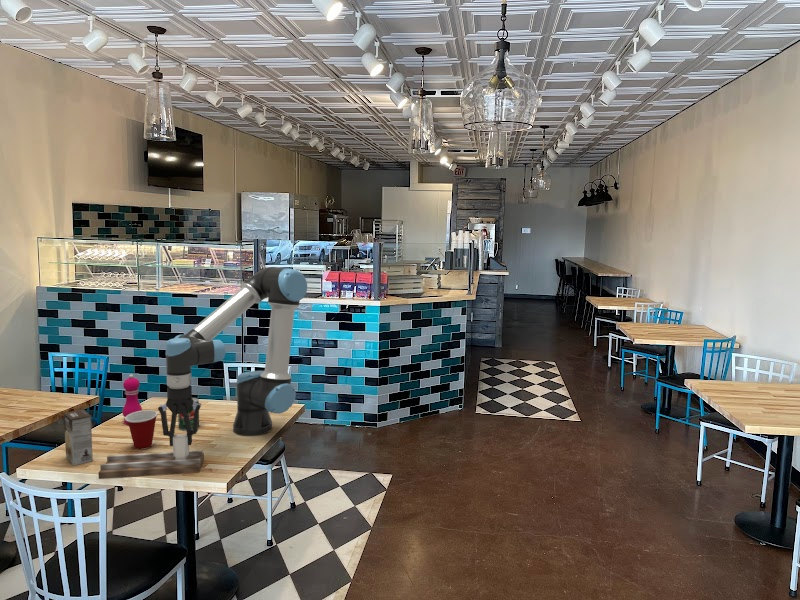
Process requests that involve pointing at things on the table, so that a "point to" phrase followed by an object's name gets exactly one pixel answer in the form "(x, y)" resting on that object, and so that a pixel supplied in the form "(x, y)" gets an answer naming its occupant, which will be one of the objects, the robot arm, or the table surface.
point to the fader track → (150, 464)
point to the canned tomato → (191, 417)
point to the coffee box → (78, 437)
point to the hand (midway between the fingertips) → (181, 454)
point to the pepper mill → (131, 396)
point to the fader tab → (180, 447)
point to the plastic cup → (142, 427)
